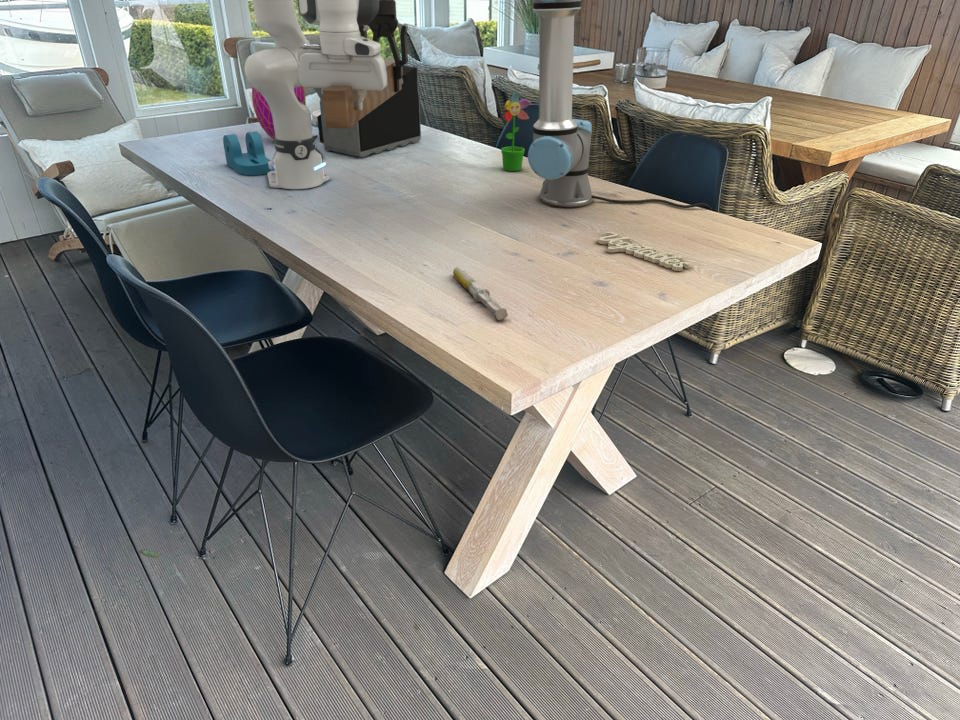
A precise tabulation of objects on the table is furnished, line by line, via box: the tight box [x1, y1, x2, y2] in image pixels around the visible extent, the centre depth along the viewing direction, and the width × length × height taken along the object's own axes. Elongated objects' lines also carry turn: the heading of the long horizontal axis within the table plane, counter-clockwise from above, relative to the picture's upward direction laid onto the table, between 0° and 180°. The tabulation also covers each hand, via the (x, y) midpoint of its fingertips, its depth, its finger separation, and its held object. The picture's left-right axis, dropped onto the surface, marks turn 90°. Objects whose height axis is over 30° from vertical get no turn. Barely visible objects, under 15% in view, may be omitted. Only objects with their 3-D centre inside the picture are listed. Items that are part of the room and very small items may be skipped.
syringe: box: [452, 266, 509, 321], centre depth 145 cm, size 25×4×3 cm, turn 21°
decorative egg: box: [251, 86, 307, 140], centre depth 257 cm, size 19×19×30 cm
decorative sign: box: [598, 231, 690, 272], centre depth 167 cm, size 26×1×10 cm
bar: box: [322, 58, 402, 129], centre depth 177 cm, size 53×5×8 cm, turn 172°
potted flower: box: [500, 91, 532, 172], centre depth 226 cm, size 9×8×25 cm
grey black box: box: [313, 57, 422, 159], centre depth 250 cm, size 37×22×30 cm, turn 144°
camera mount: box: [222, 131, 272, 176], centre depth 226 cm, size 18×10×10 cm, turn 35°
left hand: (345, 109), depth 161 cm, fingers closed on bar, 5 cm apart
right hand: (386, 90), depth 196 cm, fingers closed on bar, 5 cm apart
